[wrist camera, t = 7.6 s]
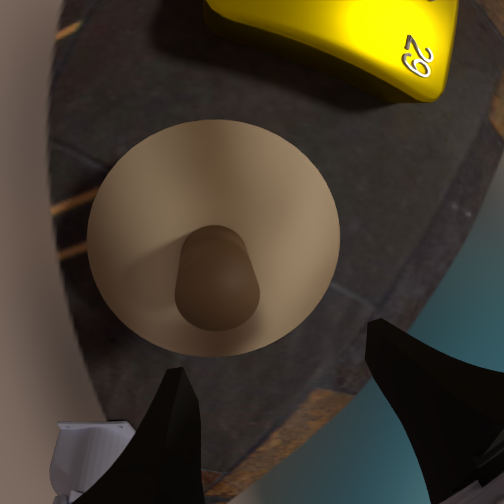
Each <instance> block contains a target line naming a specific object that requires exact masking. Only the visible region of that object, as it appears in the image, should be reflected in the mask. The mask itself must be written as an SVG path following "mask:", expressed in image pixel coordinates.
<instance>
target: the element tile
mask: <svg viewBox="0 0 504 504" xmlns="http://www.w3.org/2000/svg"><path fill="white" fill-rule="evenodd" d="M458 5H459V0H203V11H204V21H205V23H206V25H207V26H208V28H209V29H210V31H212V32H213V33H215V34H216V35H218V36H219V37H221V38H223V39H226V40H228V41H232V42H236V43H239V44H243V45H246V46H250V47H253V48H256V49H260V50H263V51H266V52H269V53H272V54H275V55H278V56H281V57H284V58H287V59H290V60H292V61H295V62H298V63H301V64H303V65H306V66H308V67H311V68H313V69H316V70H318V71H321V72H323V73H326V74H328V75H330V76H333V77H335V78H337V79H339V80H342V81H344V82H346V83H348V84H350V85H353V86H355V87H357V88H359V89H361V90H363V91H365V92H367V93H369V94H371V95H373V96H375V97H377V98H379V99H381V100H383V101H385V102H388V103H431V102H433V101H436V100H438V99H439V97H440V96H441V95H442V93H443V91H444V89H445V86H446V82H447V77H448V73H449V67H450V62H451V57H452V51H453V45H454V38H455V31H456V24H457V15H458Z"/></svg>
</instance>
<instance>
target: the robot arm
mask: <svg viewBox="0 0 504 504" xmlns="http://www.w3.org/2000/svg"><path fill="white" fill-rule="evenodd" d="M365 360H366V363H367V365H368V367H369V369H370V371H371V374H372V376H373V378H374V380H375V381H376V383H377V384H378V386H379V388H380V389H381V391H382V392H383V394H384V396H385V397H386V399H387V400H388V402H389V403H390V405H391V407H392V408H393V410H394V411H395V413H396V415H397V416H398V418H399V419H400V421H401V423H402V425H403V427H404V429H405V431H406V433H407V436H408V438H409V440H410V442H411V445H412V447H413V449H414V452H415V454H416V457H417V459H418V462H419V465H420V467H421V470H422V473H423V477H424V480H425V483H426V486H427V490H428V494H429V498H430V502H431V504H504V373H503V372H498V371H493V370H489V369H485V368H482V367H478V366H475V365H472V364H468V363H466V362H463V361H461V360H458V359H456V358H453V357H450V356H448V355H446V354H444V353H442V352H440V351H438V350H436V349H434V348H432V347H430V346H428V345H426V344H424V343H422V342H421V341H419V340H417V339H415V338H414V337H412V336H410V335H409V334H407V333H405V332H404V331H402V330H400V329H399V328H397V327H396V326H394V325H392V324H391V323H389V322H387V321H386V320H384V319H382V318H380V319H377V320H374V321H371V322H368V326H367V340H366V353H365ZM57 426H58V427H59V428H60V433H59V435H58V439H57V442H56V446H55V449H54V453H53V457H52V461H51V465H50V481H51V485H52V487H53V489H54V491H55V492H56V493H57V495H58V496H56V497H55V498H54V501H53V504H205V500H204V493H203V486H202V478H201V419H200V411H199V403H198V399H197V397H196V394H195V392H194V390H193V388H192V386H191V384H190V382H189V379H188V377H187V375H186V373H185V370H184V368H183V367H179V368H172V369H167V371H166V372H165V375H164V377H163V379H162V382H161V384H160V386H159V388H158V390H157V392H156V395H155V397H154V399H153V401H152V403H151V405H150V407H149V409H148V411H147V413H146V415H145V417H144V418H143V420H142V422H141V423H140V425H139V427H138V429H137V430H136V432H135V430H134V429H133V428H132V426H131V425H130V424H129V423H128V422H126V421H112V422H63V421H62V422H61V421H59V422H57Z"/></svg>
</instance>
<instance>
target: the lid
mask: <svg viewBox="0 0 504 504" xmlns="http://www.w3.org/2000/svg"><path fill="white" fill-rule="evenodd" d="M339 247H340V228H339V220H338V214H337V210H336V206H335V203H334V199H333V197H332V195H331V193H330V190H329V188H328V186H327V184H326V182H325V181H324V179H323V177H322V176H321V174H320V173H319V171H318V170H317V169H316V167H315V166H314V165H313V164H312V163H311V161H310V160H309V159H308V158H307V157H306V156H305V155H304V154H303V153H302V152H300V151H299V150H298V149H297V148H296V147H295V146H293V145H292V144H290V143H289V142H287V141H286V140H284V139H283V138H281V137H280V136H278V135H276V134H274V133H271V132H269V131H267V130H265V129H263V128H260V127H257V126H253V125H250V124H246V123H243V122H236V121H229V120H200V121H193V122H187V123H183V124H179V125H176V126H173V127H169V128H166V129H164V130H162V131H160V132H158V133H156V134H154V135H151V136H149V137H148V138H146V139H145V140H143V141H142V142H140V143H139V144H137V145H136V146H134V147H133V148H132V149H131V150H130V151H128V152H127V153H126V154H125V155H124V156H123V157H122V158H121V159H120V160H119V161H118V162H117V163H116V164H115V166H114V167H113V168H112V169H111V171H110V172H109V173H108V175H107V176H106V178H105V179H104V181H103V183H102V184H101V186H100V188H99V190H98V192H97V195H96V197H95V199H94V202H93V204H92V208H91V212H90V216H89V220H88V229H87V253H88V258H89V264H90V268H91V272H92V275H93V278H94V281H95V283H96V285H97V287H98V289H99V291H100V293H101V296H102V297H103V299H104V300H105V302H106V303H107V305H108V306H109V308H110V309H111V310H112V311H113V312H114V314H115V315H116V316H117V317H118V318H119V319H120V320H121V321H122V322H123V323H124V324H125V325H126V326H127V327H128V328H129V329H131V330H132V331H134V332H135V333H136V334H138V335H139V336H141V337H142V338H144V339H146V340H147V341H149V342H151V343H153V344H155V345H157V346H160V347H162V348H164V349H167V350H170V351H173V352H177V353H180V354H185V355H191V356H199V357H225V356H231V355H238V354H242V353H246V352H250V351H253V350H256V349H259V348H261V347H264V346H266V345H268V344H270V343H272V342H274V341H276V340H278V339H280V338H281V337H283V336H284V335H286V334H287V333H289V332H291V331H292V330H293V329H294V328H295V327H297V326H298V325H299V324H300V323H301V322H302V321H303V320H304V319H305V318H306V317H307V316H308V315H309V314H310V313H311V312H312V311H313V310H314V308H315V307H316V306H317V304H318V303H319V302H320V300H321V299H322V297H323V295H324V293H325V292H326V290H327V288H328V286H329V284H330V281H331V279H332V277H333V274H334V271H335V267H336V264H337V260H338V254H339Z"/></svg>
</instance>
